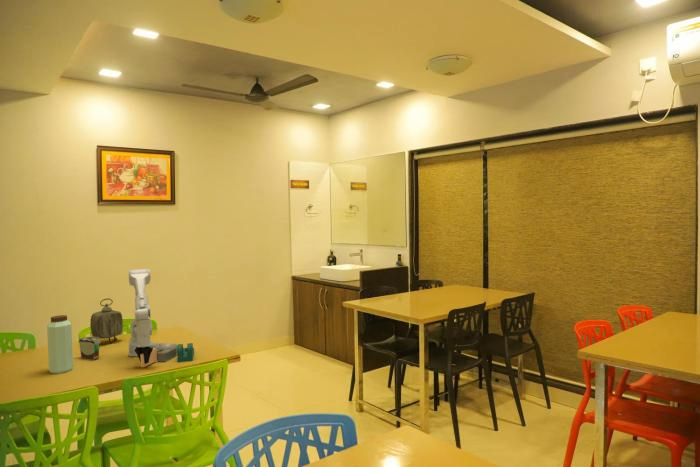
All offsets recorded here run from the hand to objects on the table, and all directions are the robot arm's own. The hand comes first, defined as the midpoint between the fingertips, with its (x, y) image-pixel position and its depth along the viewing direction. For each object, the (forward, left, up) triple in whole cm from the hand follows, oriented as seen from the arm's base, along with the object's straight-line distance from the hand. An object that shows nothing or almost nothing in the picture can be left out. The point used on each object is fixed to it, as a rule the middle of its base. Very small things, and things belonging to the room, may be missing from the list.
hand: (144, 363), depth 219 cm
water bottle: (-36, -10, -2) cm, 37 cm away
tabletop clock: (-48, +36, -2) cm, 60 cm away
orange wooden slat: (0, +3, -1) cm, 4 cm away
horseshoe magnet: (0, +14, -2) cm, 14 cm away
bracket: (+10, +18, -2) cm, 21 cm away
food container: (-36, +10, -2) cm, 37 cm away
